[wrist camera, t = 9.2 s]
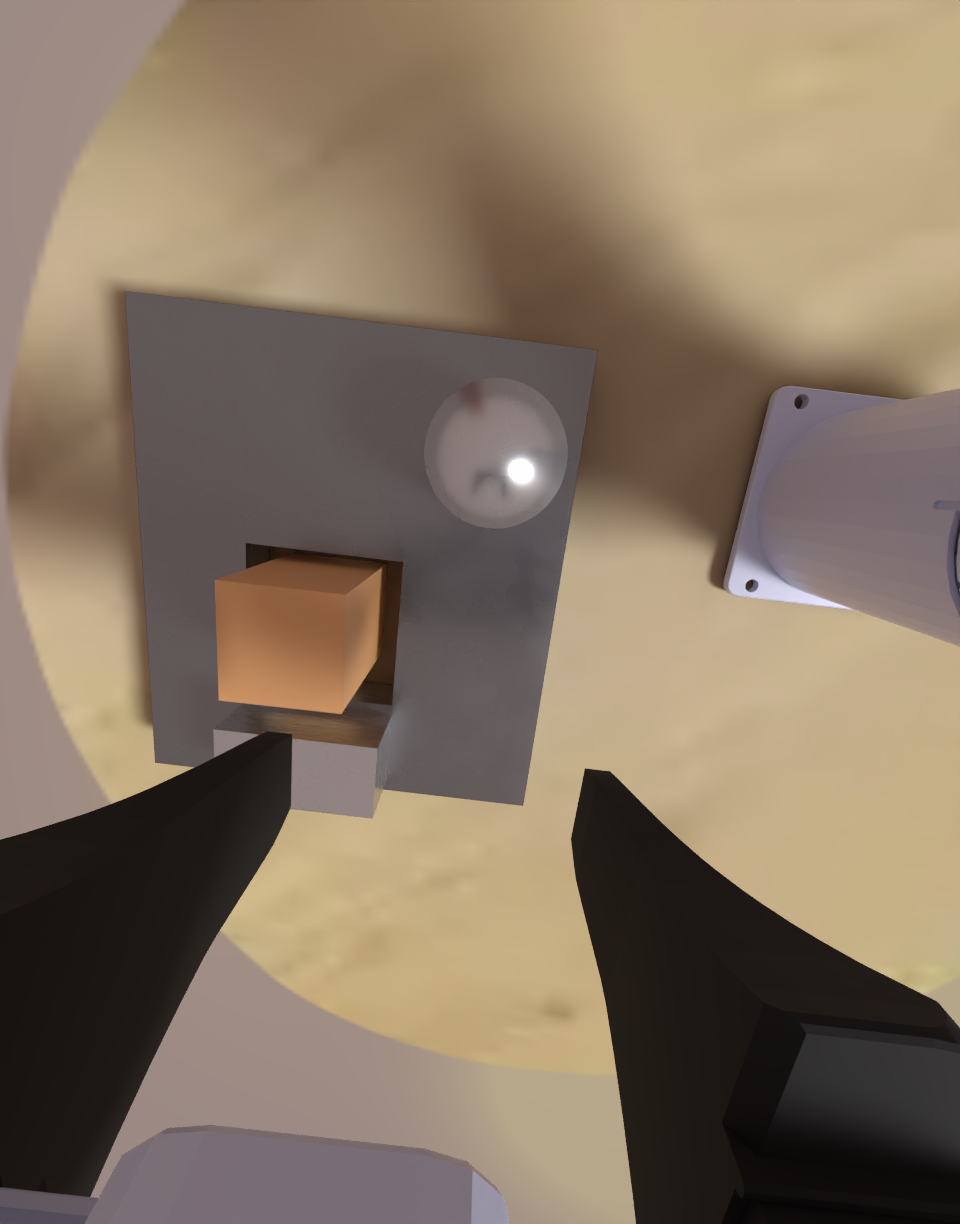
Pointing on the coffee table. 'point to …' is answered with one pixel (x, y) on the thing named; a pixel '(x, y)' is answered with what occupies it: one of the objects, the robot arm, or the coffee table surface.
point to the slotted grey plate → (358, 529)
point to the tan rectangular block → (299, 631)
